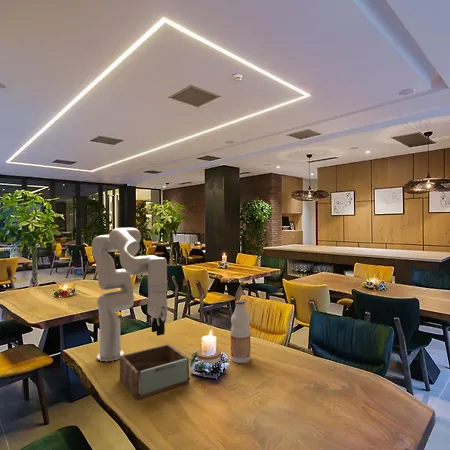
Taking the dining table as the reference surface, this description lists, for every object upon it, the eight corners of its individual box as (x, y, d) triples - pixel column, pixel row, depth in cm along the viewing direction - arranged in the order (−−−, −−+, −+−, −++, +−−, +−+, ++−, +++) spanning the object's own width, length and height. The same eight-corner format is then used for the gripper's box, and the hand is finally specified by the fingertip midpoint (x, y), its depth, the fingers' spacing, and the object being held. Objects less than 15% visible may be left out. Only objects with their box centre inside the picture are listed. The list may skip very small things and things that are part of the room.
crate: (120, 379, 135) (119, 355, 135) (168, 365, 148) (168, 343, 148) (137, 401, 119) (136, 374, 118) (190, 383, 131) (190, 359, 131)
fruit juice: (240, 365, 148) (239, 304, 148) (226, 358, 155) (226, 300, 155) (254, 359, 154) (254, 301, 154) (241, 353, 161) (240, 297, 161)
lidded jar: (199, 376, 137) (199, 354, 137) (194, 365, 148) (194, 345, 148) (223, 373, 140) (223, 351, 140) (217, 363, 151) (217, 343, 151)
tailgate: (140, 393, 120) (140, 371, 120) (186, 378, 131) (185, 358, 131) (142, 395, 119) (142, 373, 119) (188, 380, 130) (188, 359, 130)
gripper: (141, 285, 135) (141, 329, 135) (157, 292, 121) (157, 341, 121) (157, 283, 139) (158, 326, 139) (175, 290, 125) (175, 337, 125)
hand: (158, 332), depth 130 cm, fingers open, 4 cm apart
